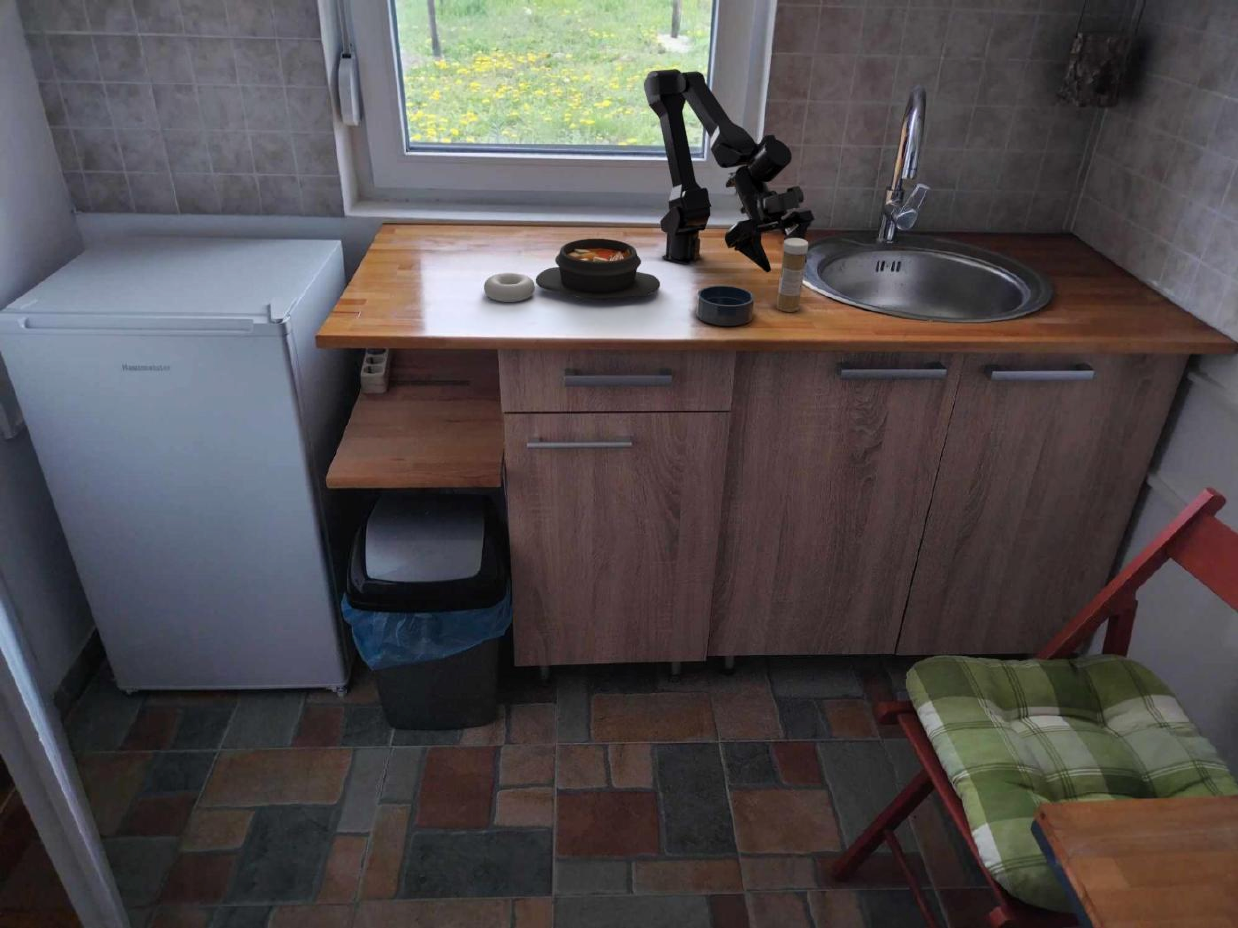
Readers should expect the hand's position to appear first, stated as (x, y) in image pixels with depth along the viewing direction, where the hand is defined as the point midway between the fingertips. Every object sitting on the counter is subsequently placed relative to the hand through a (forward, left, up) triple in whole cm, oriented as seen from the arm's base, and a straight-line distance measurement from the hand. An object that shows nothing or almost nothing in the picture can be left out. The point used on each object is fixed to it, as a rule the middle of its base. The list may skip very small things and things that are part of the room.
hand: (787, 267), depth 176 cm
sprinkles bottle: (+1, -1, -8) cm, 8 cm away
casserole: (-34, -13, -8) cm, 38 cm away
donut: (-47, -25, -8) cm, 54 cm away
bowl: (-7, -11, -8) cm, 16 cm away
